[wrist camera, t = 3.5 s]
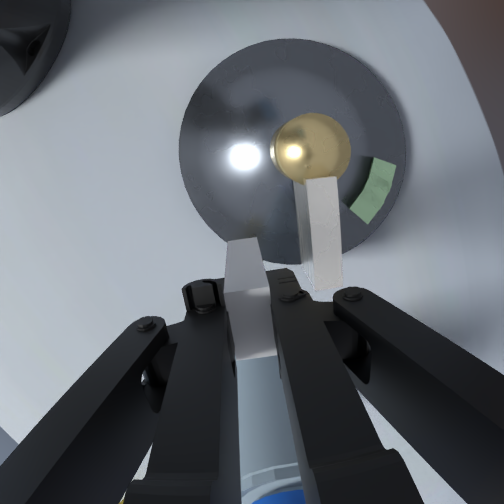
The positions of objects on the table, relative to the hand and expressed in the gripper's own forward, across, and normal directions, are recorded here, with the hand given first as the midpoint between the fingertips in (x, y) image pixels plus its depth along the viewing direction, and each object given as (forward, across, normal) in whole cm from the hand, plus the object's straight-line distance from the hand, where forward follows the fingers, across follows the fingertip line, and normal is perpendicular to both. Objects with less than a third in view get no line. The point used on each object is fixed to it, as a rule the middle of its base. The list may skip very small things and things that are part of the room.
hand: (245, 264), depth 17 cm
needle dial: (+7, +5, +2) cm, 8 cm away
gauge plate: (+8, +5, +5) cm, 11 cm away
